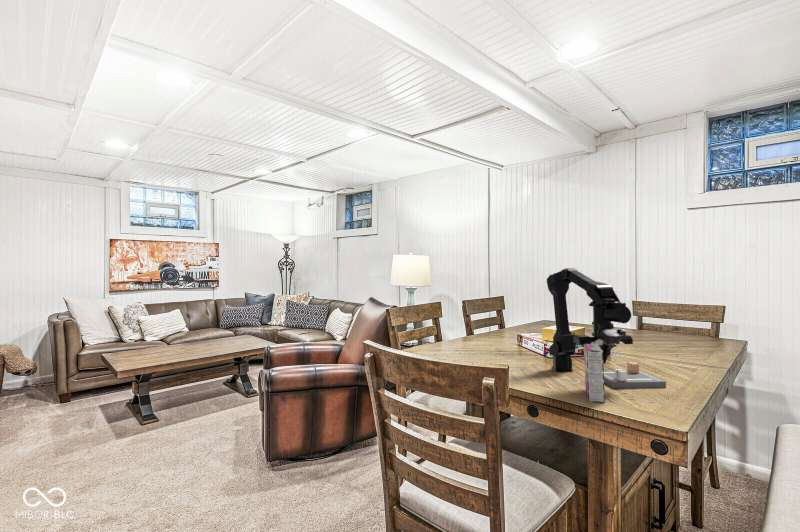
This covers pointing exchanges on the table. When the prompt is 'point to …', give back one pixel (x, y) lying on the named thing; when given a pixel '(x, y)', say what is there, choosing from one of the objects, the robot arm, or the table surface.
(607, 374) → the console
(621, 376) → the fader
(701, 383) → the table surface
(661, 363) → the table surface
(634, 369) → the block
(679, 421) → the table surface
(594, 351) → the candy bar box
